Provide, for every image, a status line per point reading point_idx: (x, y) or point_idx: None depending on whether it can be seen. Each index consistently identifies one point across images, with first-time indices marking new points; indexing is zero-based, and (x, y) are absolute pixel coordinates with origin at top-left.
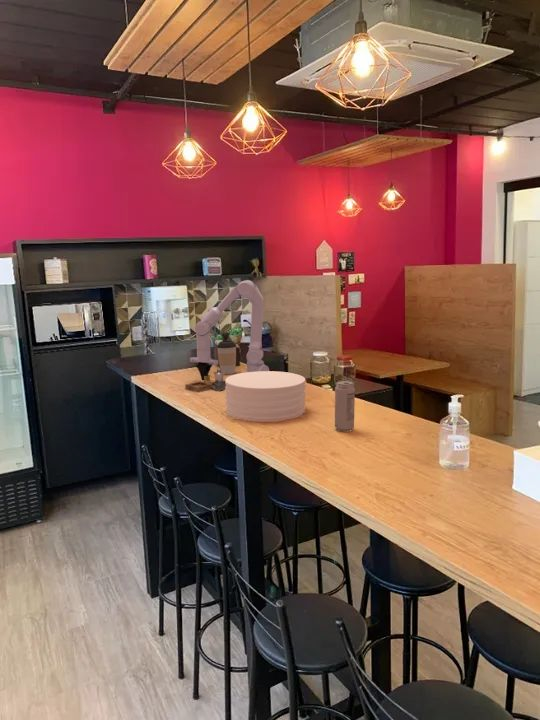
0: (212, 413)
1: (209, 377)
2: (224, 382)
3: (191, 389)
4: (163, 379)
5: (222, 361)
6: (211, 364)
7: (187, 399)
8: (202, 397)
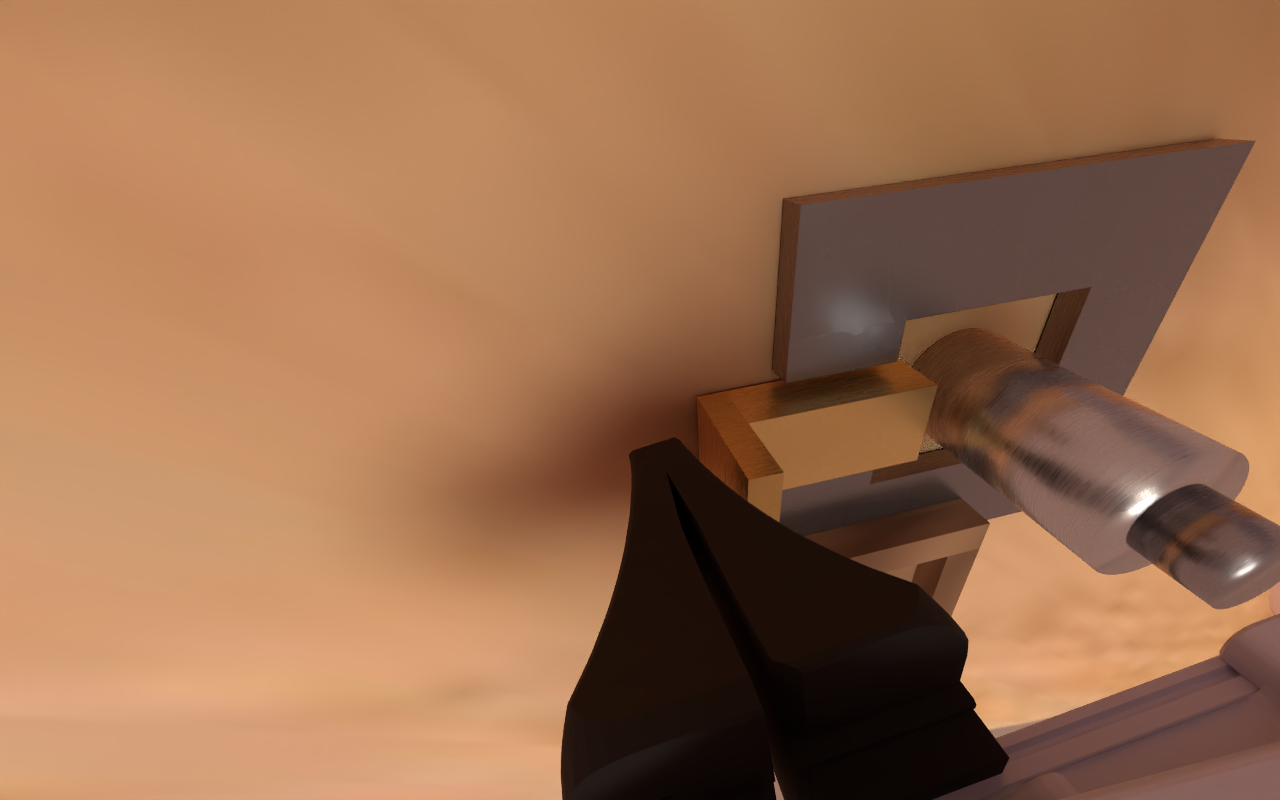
0: None
1: (766, 458)
2: (965, 255)
3: None
4: (29, 755)
5: None
6: (1104, 724)
7: None
8: (1022, 628)
